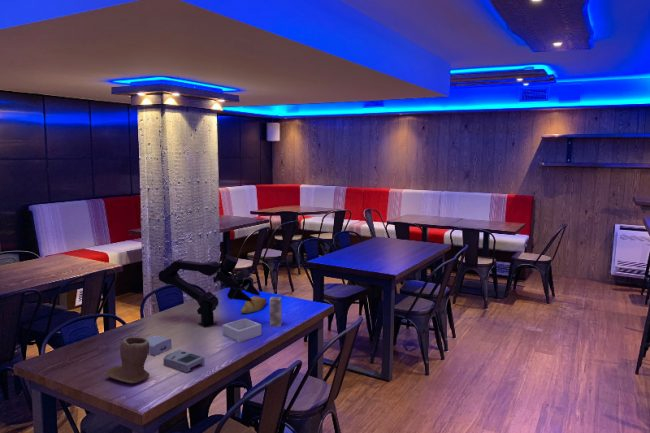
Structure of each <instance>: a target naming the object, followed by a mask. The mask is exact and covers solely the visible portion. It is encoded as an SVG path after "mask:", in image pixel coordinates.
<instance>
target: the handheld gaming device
mask: <svg viewBox="0 0 650 433" xmlns="http://www.w3.org/2000/svg"><path fill="white" fill-rule="evenodd" d="M162 363H163V365H164V366H167V367H170V368H172V369H176V370H179V371H181V372H184V373H189V372H190V371H191V368H193V367H196V366H197V365H198V366H204V364H205V357H204V356H201V355H199V354H196V353H192V352H188V351H185V350H182V349H176V350H174V351H172V352H170V353H168V354H166V355H165V356H164V357H163V362H162Z"/></svg>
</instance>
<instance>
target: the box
mask: <svg viewBox="0 0 650 433" xmlns="http://www.w3.org/2000/svg"><path fill="white" fill-rule="evenodd" d="M259 336H262V324H261V323H259V322H255V321H253V320H251V319H248V318H245V317H244V318H241V319H238V320H234V321H231V322H227V323H224V324H222V337H225V338H228V339H230V340H231V341H235V342H236V343H242V342H245V341H249V340H250V339H254V338H257V337H259Z"/></svg>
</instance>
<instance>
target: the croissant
mask: <svg viewBox="0 0 650 433" xmlns="http://www.w3.org/2000/svg"><path fill="white" fill-rule="evenodd" d="M250 298H251V299H252V300H251V301H245V302H244V304H243V306H242V308H241V309H240V313H241V314H249V313H255V312H260V310H262V309H264V307H265V305H266V304H267V301H268V300H267V298H264V297H260V295H259V296H258V295H253V296H251V297H250Z"/></svg>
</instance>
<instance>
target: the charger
mask: <svg viewBox="0 0 650 433" xmlns="http://www.w3.org/2000/svg"><path fill="white" fill-rule="evenodd" d="M146 339H147V340H148V342H149V352H148V354H149V355H151V356H158V355H160V354H162V353H164V352H167V351H170V350H172V348H173V346H172V345H173V344H172V339H171V338H167V337H163V336H159V335H155V334H154V335H153V336H150V337H147V338H146Z"/></svg>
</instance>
